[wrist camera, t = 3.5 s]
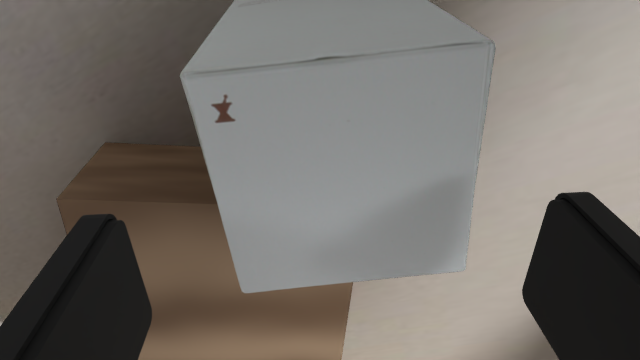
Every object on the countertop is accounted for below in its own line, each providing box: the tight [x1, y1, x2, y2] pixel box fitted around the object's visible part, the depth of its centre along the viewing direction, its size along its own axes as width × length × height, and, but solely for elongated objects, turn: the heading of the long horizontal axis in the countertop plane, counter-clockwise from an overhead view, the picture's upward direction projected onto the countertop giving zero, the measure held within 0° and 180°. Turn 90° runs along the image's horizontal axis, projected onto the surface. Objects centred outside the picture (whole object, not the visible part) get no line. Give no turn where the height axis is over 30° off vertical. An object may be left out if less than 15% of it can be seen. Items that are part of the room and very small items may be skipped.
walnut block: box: [56, 143, 353, 360], centre depth 26 cm, size 14×14×6 cm
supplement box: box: [180, 0, 496, 293], centre depth 17 cm, size 7×7×13 cm
